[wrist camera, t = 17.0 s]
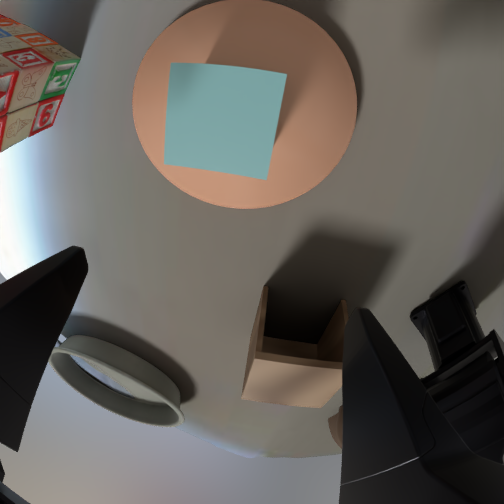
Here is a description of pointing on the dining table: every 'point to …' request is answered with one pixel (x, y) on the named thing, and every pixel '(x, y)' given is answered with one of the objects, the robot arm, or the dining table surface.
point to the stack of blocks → (30, 81)
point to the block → (222, 118)
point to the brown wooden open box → (294, 364)
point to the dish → (292, 107)
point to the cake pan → (119, 381)
